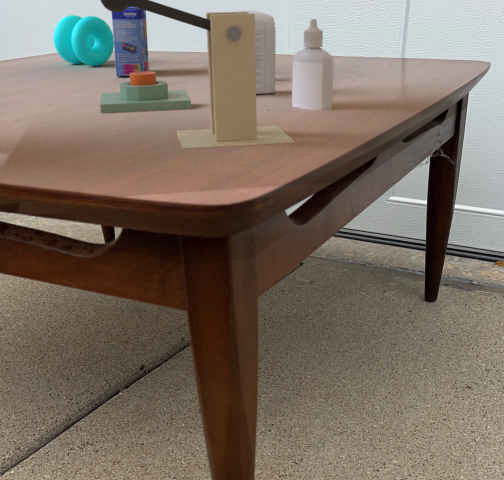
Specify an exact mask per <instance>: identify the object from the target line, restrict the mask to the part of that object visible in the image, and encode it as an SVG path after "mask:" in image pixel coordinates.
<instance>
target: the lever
mask: <svg viewBox="0 0 504 480" xmlns="http://www.w3.org/2000/svg"><path fill="white" fill-rule="evenodd" d="M100 2H101V4H102V6H103V7H104V8H105V9H106V10H107V11H109V12H111V13H112V12H122V11H124V10H126V9H127V8H128V7H129V5H130V6H134V7H137V8H140V9H143V10H146V12H150V13H153V14H156V15H159V16H162V17H166V18H168V19H172V20H174V21H178V22H181V23H184V24H188V25H190V26H193V27H197V28H200V29H203V30H206V31H207V30H209V31H211V21H210V20H209V19H206V17H202V16H200V15H196V14H193V13H191V12H187V11H184V10H181V9H178V8H175V7H172V6H169V5H166V4H163V3H159V2H156V1H153V0H100Z"/></svg>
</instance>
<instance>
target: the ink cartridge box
mask: <svg viewBox="0 0 504 480" xmlns="http://www.w3.org/2000/svg"><path fill="white" fill-rule="evenodd" d="M111 22H112V23H111V24H112V33H113V39H114V48H113V53H114V63H115V64H114V65H115V75H116V77H119V78H121V77H122V78H123V77H124V78H126V77H129V78H130V73H132V72H140V71H150V68H149V67H150V65H149V43H148V27H147V26H148V25H147V24H148V23H147V11H146V10H143V9H140V8H137V7H134V6H130V5H129V7H128V8H127V9H126V10H124V11H122V12H112V11H111Z"/></svg>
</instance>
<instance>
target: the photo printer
mask: <svg viewBox="0 0 504 480" xmlns="http://www.w3.org/2000/svg"><path fill="white" fill-rule="evenodd" d="M231 12H248V13H253V14H255V59H256V95H273V94H275V92H276V42H277V41H276V40H277V39H276V38H277V37H276V22H275V18H274V16H273V15H271V14H267V13H264V12H261V11H255V10H233V11H231Z"/></svg>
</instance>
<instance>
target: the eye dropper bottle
mask: <svg viewBox="0 0 504 480" xmlns="http://www.w3.org/2000/svg"><path fill="white" fill-rule="evenodd" d="M323 32H324V31H323V30H322V29H320V28H319V27H318V22H317V18H311V19H310V21H309V26H308V28H307V29H306V30H304V31H303V49H302V50H299V51H297V52H295V54H294V55H293V57H292V69H291V70H292V71H291V72H292V73H291V76H292V77H291V78H292V79H291V81H292V82H291V83H292V84H291V106H292V107H294V108H297V109H304V110H311V111H326V110H332V109H333V97H334V94H333V92H334V58H333V55H332V54H330V53H329V52H328V51H326V50H324V49H323V43H324V42H323V41H324V39H323V38H324V36H323V35H324V33H323Z"/></svg>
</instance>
